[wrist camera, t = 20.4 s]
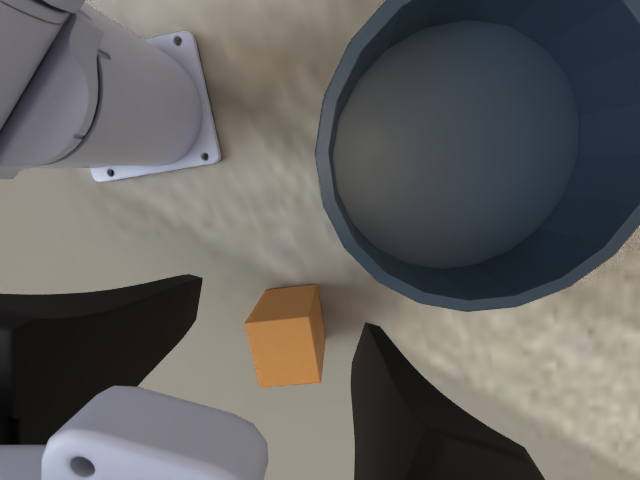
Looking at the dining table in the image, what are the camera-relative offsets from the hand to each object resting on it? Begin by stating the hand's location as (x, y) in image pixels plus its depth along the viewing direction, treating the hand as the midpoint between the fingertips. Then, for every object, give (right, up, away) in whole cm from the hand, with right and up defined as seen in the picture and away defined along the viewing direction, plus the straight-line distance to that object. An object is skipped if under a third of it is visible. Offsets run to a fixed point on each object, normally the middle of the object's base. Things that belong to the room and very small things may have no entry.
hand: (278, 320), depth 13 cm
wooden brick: (0, -2, +10) cm, 11 cm away
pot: (+10, +9, +7) cm, 15 cm away
